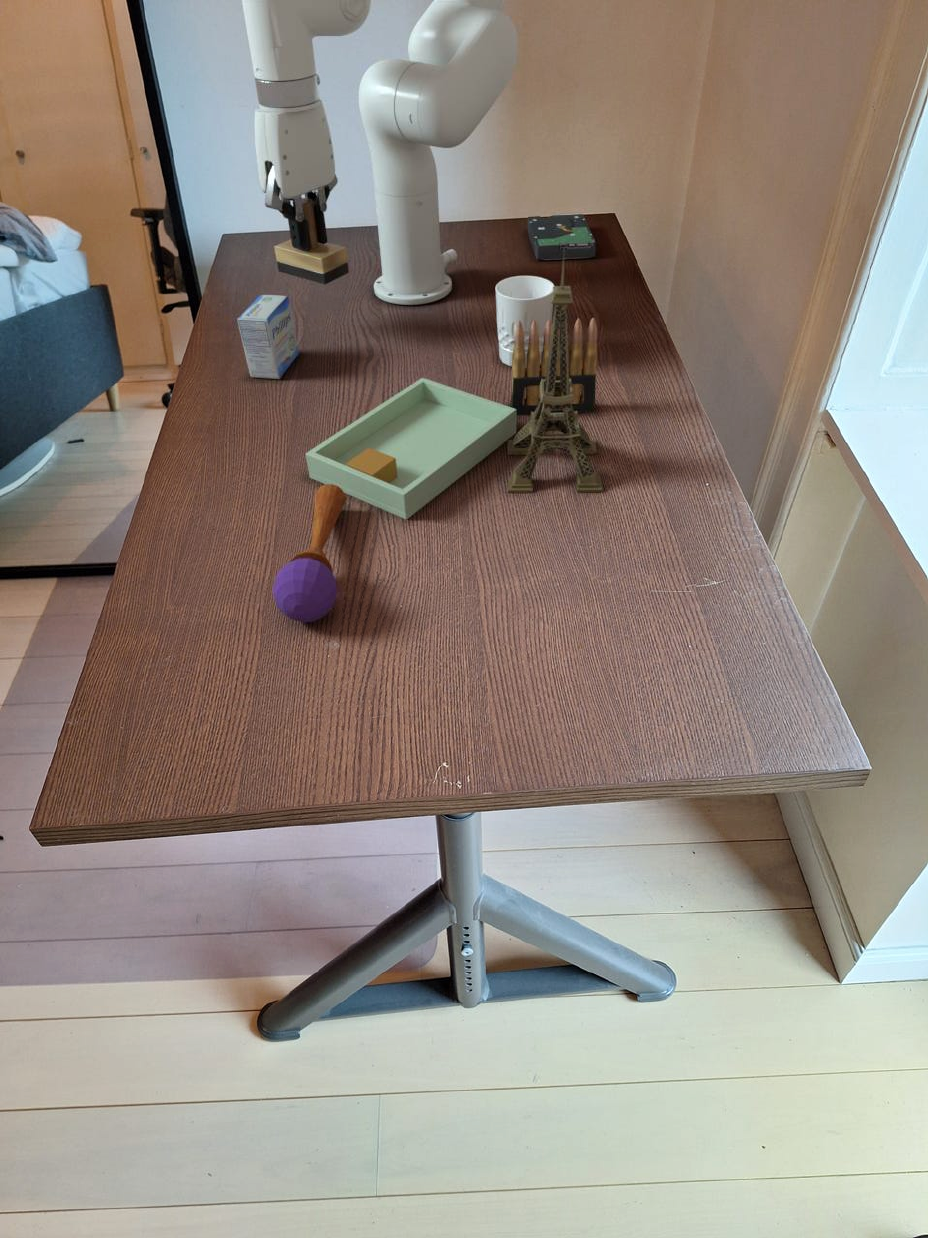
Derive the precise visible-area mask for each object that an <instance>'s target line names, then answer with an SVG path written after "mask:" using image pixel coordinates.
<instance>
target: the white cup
mask: <svg viewBox="0 0 928 1238" xmlns="http://www.w3.org/2000/svg"><path fill="white" fill-rule="evenodd" d="M553 286H555V284H554V283H553V282H552V281H551V280H549V279H547V278H544V277H542V276H537V275H516V276H515V275H514V276H510V277H506V278H503V279H502V280H500V281H498V283H496V285H495V289H494V290H495V308H496V309H495V310H496V312H495V313H496V327H497V339H498V355H499V360H500V361H501V363H503V364H504V365H507V366H508V367H510V368H512V355H513V350H514V336H515V330H516V326H517V323H518V321H521V324H522V327H523V332H524V350H525V369H526V366H527V352H528V345H529V334H530V329H531V325H532V322H533V321H534V320H535V321H536V323H537V326H538V332H539V351H540V366H541V354H542V350H543V342H544V333H545V328H546V324H547V322H548V320H549V319H550V320H551V322H552V323H553V315H554V304H552V303H551V296H550V294H551V293H552V292H553Z"/></svg>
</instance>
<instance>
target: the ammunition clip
mask: <svg viewBox="0 0 928 1238" xmlns="http://www.w3.org/2000/svg"><path fill="white" fill-rule="evenodd" d="M552 324H553V321H552V322H551V320H550V319H549V320H548V322H547V324H546V328H545V333H544V342H543V350H542V354H541V365H540V351H539V332H538V326H537V323H536V321H535V320H534V321H533V322H532V325H531V329H530V334H529V345H528V352H527V366H526V368H525V350H524V332H523V327H522V324H521V321H518V323H517V326H516V330H515V336H514V350H513V355H512V367H511V387H510V389H511V390H510V404H509V407H511V408H514V409H516V410H517V411H516V416H524V415H531V412H535V410H536V408H537V407H538V404H539V401H540V382H541V379H545V378H546V370H547V362H548V355H549V347H550V339H551V332H552ZM583 335H584V334H583V324H582V320H581V318H579V317H578V318H577V320H576V321H575V324H574V327H573V332H572V340H571V347H570V351H569V350H568V354H569V379H571V382H572V389H573V398H574V402H573V403H571V404H572V407H573V410H574V412H575V411H577V413H593V412H594V411H595V410H596V384H597V383H596V381H597V380H596V379H597V378H596V377H597V375H596V374H597V363H598V362H597V361H598V347H597V345H598V326H597V321H596V318H595V317H592V318H591V320H590V321H589V325H588V328H587V333H586V335H587V336H586V342H585V348H584V349H583V337H584V336H583ZM555 381H560V341H559V353H558V362H557V371H556V380H555ZM550 413H564V412H563V410H551V412H550Z"/></svg>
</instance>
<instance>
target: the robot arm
mask: <svg viewBox="0 0 928 1238" xmlns="http://www.w3.org/2000/svg"><path fill="white" fill-rule="evenodd" d="M241 3H242V9H243V11H242V12H243V16H244V22H245V28H246V34H247V40H248V46H249V52H250V58H251V63H252V69H253V75H254V76H253V77H254V82H255V88H256V94H257V101H258V106H259V108H256V109H255V110H254V143H255V144H254V145H255V154H256V156H255V157H256V164H257V171H258V179H259V184H260V188H261V191H262V193H264V194H265V199H264V206H265V208H268V209H273V210H276V211H278V212H279V213H280V214H282V216H283V218H284V219H287V222H288V223H287V224H288V229H289V235H290V239H291V242H292V246H293V247H294V248H297V249H300V250H304V251H310V250H311V248H312V246H311V239H310V232H309V225H308V221H307V220H305V219H304V214H303V205H302V198H303V195H304V198H309V199H312V202H313V209H314V216H315V224H316V231H317V238H318V243H321V244H325V243H328V234H327V226H326V219H325V213H326V211H327V209H328V204H327V202H328V200H329V197H330V194H331V192H332V191H333V189H335V187H336V186H337V184H338V182H339V179H338V177H337V175H336V165H335V164H336V163H335V154H334V148H333V143H332V136H331V135H332V134H331V131H330V126H329V122H328V117H327V114H326V109H325V107H324V104H323V101H322V99H320V93H319V85H320V84H321V79H320V76H319V74H317V70H316V69H317V68H316V60H315V52H314V45H313V44H314V43H313V39H314V38H316V37H343V36H348V35H352V34H353V33H354V32H357V31H358V30H359V29H360V28H361V27H362V26H363V24H365V22H366V20H367V18H368V16H369V13H370V11H371V10H370V9H371V3H372V0H241ZM504 6H505V0H432V1H431V3H430V4H429V6H428V7H427V9H426V10H425V11H424V13H423V14H422V15H421V17H420V18H419V19H418V21H417V22H416V24H415V25H414V27H413V29H412V31H411V33H410V36H409V39H408V43H407V55H408V60H407V59H401V58H389V59H382V60H379V61H377V62H375V63H373V64H372V65H371V66H369V67H368V68H367V70H366V71H365V73H364V74H363V76H362V78H361V79H360V84H359V87H358V108H359V114H360V117H361V121H362V126H363V128H364V132H365V135H366V140H367V145H368V149H369V154H370V160H371V168H372V169H371V170H372V178H373V180H372V181H373V189H374V201H375V209H376V211H375V213H376V221H377V233H378V243H379V244H378V245H379V254H380V265H381V276H379V277H378V278H377V279H376V280H375V281H374V282H373V291H374V294H375V296H376V297H377V298H378V299H380V300H381V301H384V302H386V303H389V304H393V305H401V306H418V305H425V304H429V303H433V302H436V301H439V300H442V299H443V298H445V297H446V296H448V295H449V294H450V293H451V291H452V289H453V282H452V278H451V277H450V276H449V275H447V274H446V272H445V269H446V268H447V266H448V265H450V264H452V263H454V262H455V261H457V259H458V253H457V251H456V250H455V249H453V248H451V249H448V250H446V251H445V252H443V253H442V249H441V230H440V229H441V228H440V209H439V205H440V204H439V186H438V185H439V179H438V170H437V164H436V160H435V157H434V154H433V151H432V149H431V147H436V148H441V149H442V148H443V149H452V148H456V147H457V146H459V145H461V144H463V143H464V142H465V141H466V140H467V139H468V138H469V137H470V136H471V135H472V134H473V133H474V132H475V130H476V129H477V127H478V126H479V125H480V123H481V122H482V121H483V119H484V117H485V116H486V115H487V113H488V112H489V111H490V109H492V107H493V106H494V104H495V103H496V101H497V100H498V98H499V97H500V96H501V94H502V93H503V92H504V90H505V89H506V87H507V86H508V84H509V82H510V80H511V78H512V76H513V73H514V70H515V67H516V63H517V59H518V54H519V37H518V34H517V30H516V27H515V25H514V22H513V21H512V19H511V18H510V17H509V16H508V15H507V14H506V13H504V12H503V10H504ZM291 201H292V202H291Z"/></svg>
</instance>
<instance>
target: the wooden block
mask: <svg viewBox="0 0 928 1238" xmlns="http://www.w3.org/2000/svg"><path fill="white" fill-rule="evenodd" d="M346 466H348V467H351V468H353V469H355V470H358V471H360V472H363V473H365V474H367V475H370V476H372V477H375V478H377V479H379V480H382V481H384V482H387V483H390V482H391V481H392V480H394V479H395V478H396V477H397V467H396V458H394V457H391V456H389V455H386V454H384V453H381V452H379V451H376V450H373V449H371V448H368V449H366V450H365V451H364V452H362V453H361V454H359V455H358V456H356V457H355V458H353V459H352V460H351V461H349V462H348V463H346Z"/></svg>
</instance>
